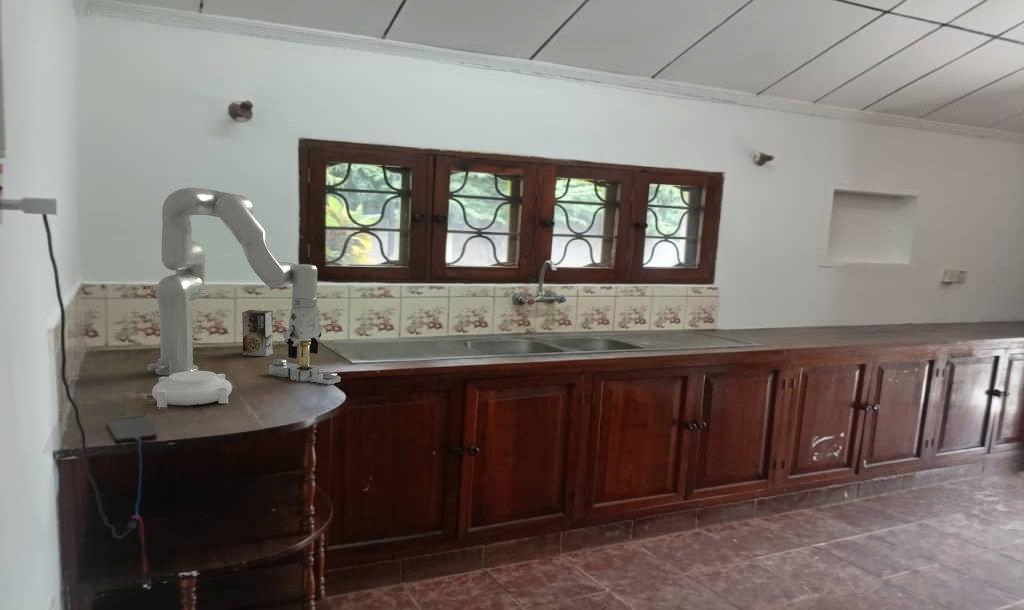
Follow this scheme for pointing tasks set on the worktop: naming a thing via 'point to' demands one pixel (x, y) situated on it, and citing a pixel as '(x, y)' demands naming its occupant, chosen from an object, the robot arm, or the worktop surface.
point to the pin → (304, 354)
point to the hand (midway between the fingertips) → (303, 355)
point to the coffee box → (257, 332)
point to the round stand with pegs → (191, 388)
